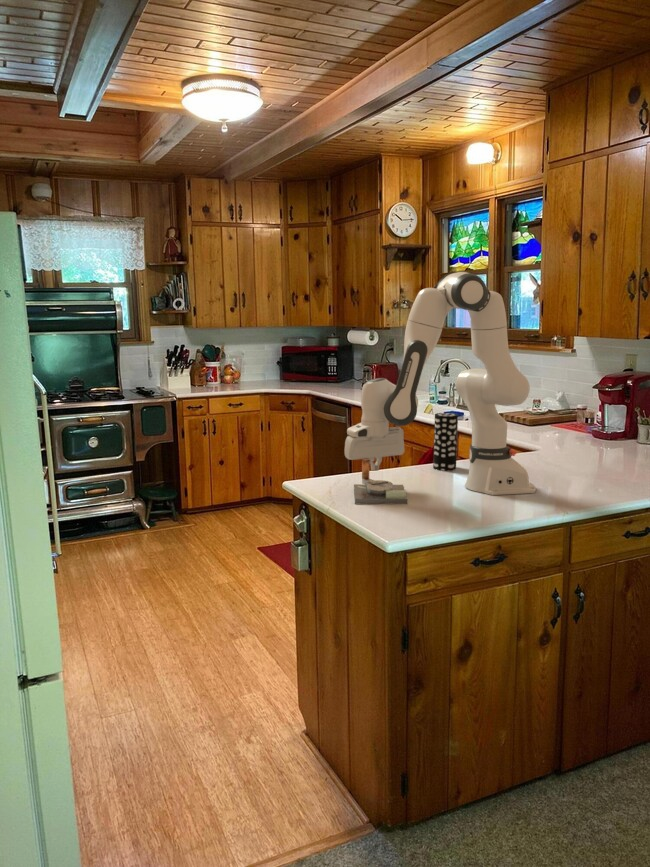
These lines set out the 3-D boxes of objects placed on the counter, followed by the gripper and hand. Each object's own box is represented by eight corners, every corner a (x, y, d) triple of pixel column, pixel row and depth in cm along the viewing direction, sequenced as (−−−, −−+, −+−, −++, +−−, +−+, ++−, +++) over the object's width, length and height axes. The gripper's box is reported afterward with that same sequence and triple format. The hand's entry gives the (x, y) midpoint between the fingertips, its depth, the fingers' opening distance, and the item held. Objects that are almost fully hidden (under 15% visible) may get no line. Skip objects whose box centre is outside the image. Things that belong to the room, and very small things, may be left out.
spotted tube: (431, 469, 255) (433, 415, 251) (435, 464, 263) (437, 412, 259) (454, 471, 252) (456, 417, 249) (457, 466, 260) (459, 413, 256)
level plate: (402, 489, 229) (402, 479, 228) (407, 504, 212) (407, 493, 212) (353, 488, 229) (353, 479, 229) (354, 503, 213) (355, 493, 212)
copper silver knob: (373, 483, 230) (373, 457, 229) (397, 492, 219) (398, 466, 217) (353, 486, 226) (353, 460, 225) (376, 496, 215) (377, 469, 213)
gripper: (399, 424, 231) (398, 465, 234) (342, 429, 224) (342, 471, 227) (408, 427, 226) (407, 469, 228) (350, 432, 218) (350, 475, 221)
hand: (374, 470), depth 227 cm, fingers closed
